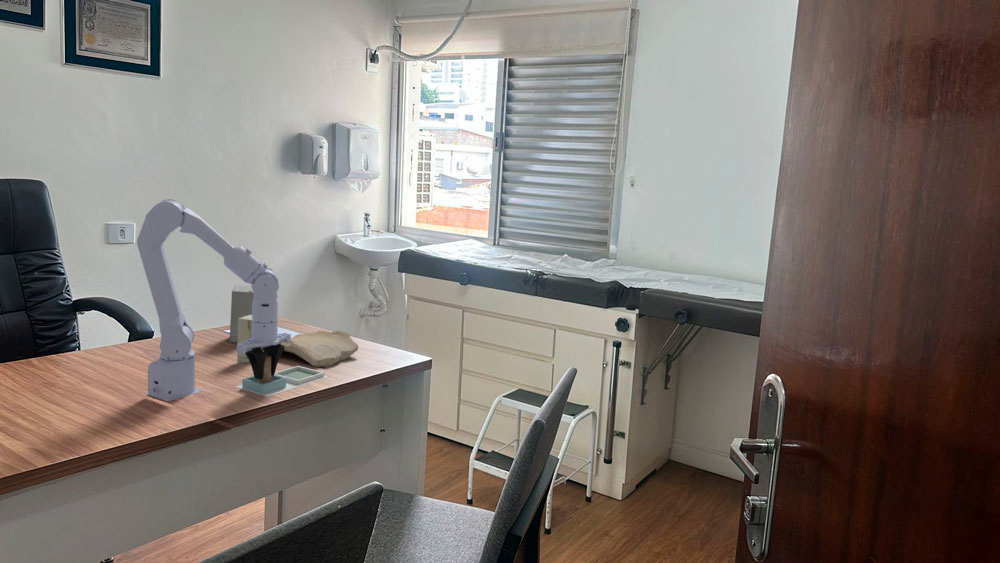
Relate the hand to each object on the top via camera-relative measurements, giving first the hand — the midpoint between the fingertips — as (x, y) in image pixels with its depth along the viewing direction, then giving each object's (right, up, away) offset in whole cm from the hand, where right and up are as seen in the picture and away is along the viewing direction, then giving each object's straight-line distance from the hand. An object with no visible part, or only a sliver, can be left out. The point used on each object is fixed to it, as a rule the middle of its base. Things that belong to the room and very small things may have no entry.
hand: (264, 376), depth 168 cm
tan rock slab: (+2, +1, +32) cm, 32 cm away
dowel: (0, -3, 0) cm, 3 cm away
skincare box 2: (-11, +1, +22) cm, 25 cm away
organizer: (+3, -3, +6) cm, 7 cm away
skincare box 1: (-21, +5, +44) cm, 49 cm away
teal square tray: (0, -3, +1) cm, 3 cm away
